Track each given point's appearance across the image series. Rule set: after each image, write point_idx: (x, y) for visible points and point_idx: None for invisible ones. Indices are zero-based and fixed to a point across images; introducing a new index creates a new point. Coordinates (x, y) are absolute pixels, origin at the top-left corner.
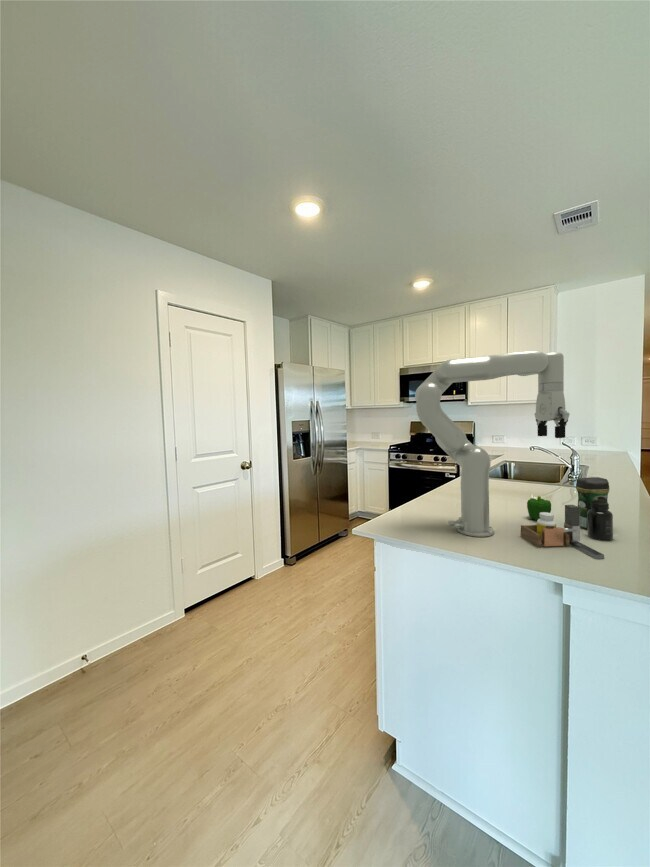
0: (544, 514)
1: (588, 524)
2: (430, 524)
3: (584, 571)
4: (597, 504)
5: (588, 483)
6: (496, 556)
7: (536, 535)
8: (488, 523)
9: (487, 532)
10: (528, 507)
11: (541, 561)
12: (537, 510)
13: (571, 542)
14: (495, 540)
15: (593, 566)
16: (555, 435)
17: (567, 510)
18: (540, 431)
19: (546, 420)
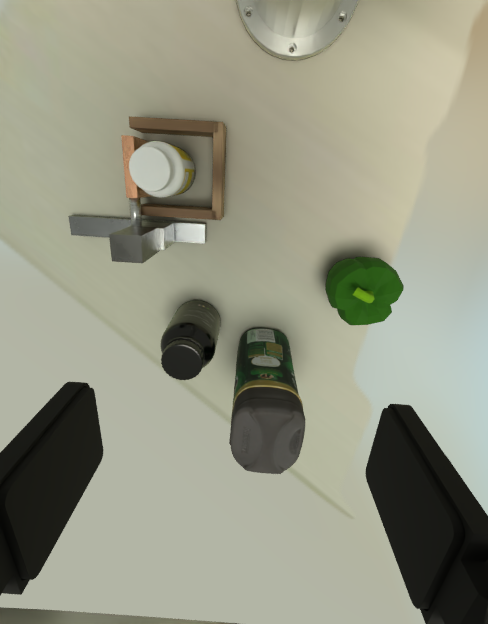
0: (141, 156)
1: (198, 311)
2: None
3: (4, 137)
4: (168, 347)
5: (240, 407)
6: None
7: (136, 117)
8: (262, 6)
9: (246, 4)
10: (371, 258)
11: (50, 66)
12: (337, 266)
13: (148, 220)
14: (204, 16)
15: (33, 179)
16: (60, 395)
17: (133, 233)
18: (402, 460)
19: (85, 617)
